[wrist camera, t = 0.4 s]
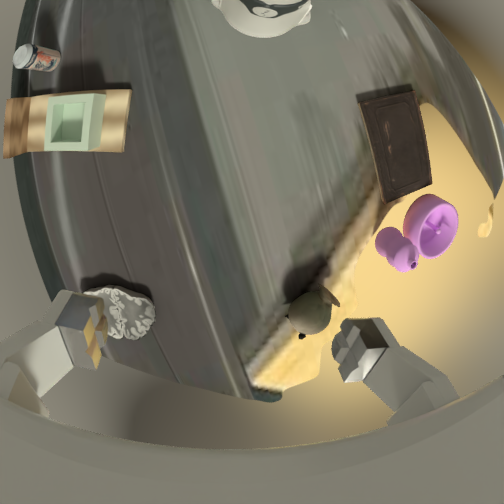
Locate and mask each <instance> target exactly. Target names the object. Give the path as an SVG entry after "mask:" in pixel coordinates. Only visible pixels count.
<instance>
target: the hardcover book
mask: <svg viewBox="0 0 504 504" xmlns="http://www.w3.org/2000/svg"><path fill="white" fill-rule="evenodd" d="M358 106H359V109H360V112H361V116H362V119H363V122H364V126H365V129H366V133H367V137H368V141H369V144H370V148H371V152H372V157H373V161H374V165H375V170H376V174H377V179H378V184H379V189H380V195H381V200H382V201H383V204H386V203H388V202H391V201H393V200H396V199H398V198H400V197H403V196H405V195H407V194H410V193H412V192H414V191H417V190H419V189H421V188H424V187H426V186H428V185H431V184H432V176H431V168H430V160H429V153H428V147H427V141H426V135H425V130H424V125H423V120H422V116H421V111H420V107H419V103H418V99H417V95H416V92H415V90H411V91H409V92H404V93H399V94H394V95H389V96H384V97H380V98H375V99H371V100H367V101H363V102H359V103H358Z"/></svg>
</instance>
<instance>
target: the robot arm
mask: <svg viewBox="0 0 504 504" xmlns="http://www.w3.org/2000/svg"><path fill="white" fill-rule="evenodd" d="M211 3H212V4H213V5H214V6H215V7H217V8H218V9H219V10H221V11H222V13H223V15H224V17H225V18H226V20H227V21H228V23H229V24H230V25H231V26H232V27H234V28H235V29H236V30H238V31H240V32H242V33H244V34H246V35H249V36H253V37H260V38H268V37H275V36H279V35H281V34H284V33H286V32H287V31H289V30H290V29H292V28H293V27H295V26H298V25H303V24H307V23H308V22H309V21H310V9H311V8H312V5H311V4H310V3H311V1H310V0H211ZM104 309H105V305H104V300H103V298H101V297H97V296H92V295H87V294H83V293H78V292H72V291H67V290H61V291H60V292H59V293H58V294H57V296H56V297H55V299H54V301H53V302H52V304H51V305H50V307H49V309H48V310H47V312H46V314H45V315H44V317H43V318H42V320H41V321H35V322H33V323H32V324H30V325H28V326H26V327H25V328H23V329H21V330H20V331H18V332H16V333H15V334H13V335H11V336H9V337H8V338H6V339H4V340H3V341H1V342H0V504H504V375H501V376H499V377H498V378H496V379H494V380H493V381H491V382H489V383H487V384H486V385H484V386H482V387H480V388H479V389H477V390H475V391H473V392H471V393H469V394H467V395H465V396H463V397H461V398H460V397H459V395H458V394H457V392H456V390H455V389H454V387H453V386H452V384H451V382H450V381H449V379H448V377H447V376H446V375H445V374H444V373H442V372H441V371H439V370H438V369H436V368H435V367H433V366H432V365H430V364H429V363H427V362H426V361H425V360H423V359H422V358H420V357H418V356H417V355H416V354H414V353H413V352H411V351H410V350H408V349H407V348H405V347H404V346H401V347H400V345H399V344H398V342H397V341H396V339H395V337H394V336H393V334H392V333H391V331H390V330H389V328H388V327H387V325H386V324H385V322H384V321H383V319H381V318H346V319H345V320H344V321H343V322H342V324H341V326H340V328H341V331H340V332H339V333H338V334H336V335H335V337H334V339H333V342H332V348H331V349H332V355H333V357H334V360H336V361H337V362H338V363H339V364H340V365H339V368H338V370H339V372H340V374H341V377H342V379H343V381H344V383H346V382H357V381H363V383H365V384H366V385H367V386H368V387H369V388H370V389H371V390H372V391H373V392H374V393H375V394H376V395H377V396H378V397H379V398H381V400H382V401H383V402H384V403H386V404H387V405H388V406H389V407H390V408H391V409H392V410H393V411H394V413H393V414H392V415H391V416H390V417H389V418H388V420H387V424H388V426H387V427H383V428H380V429H376V430H373V431H369V432H365V433H361V434H358V435H353V436H348V437H344V438H339V439H334V440H329V441H323V442H317V443H311V444H303V445H296V446H287V447H276V448H263V449H236V450H235V449H234V450H224V449H221V450H220V449H196V448H182V447H172V446H163V445H155V444H148V443H142V442H136V441H130V440H125V439H120V438H115V437H111V436H106V435H103V434H98V433H95V432H91V431H87V430H83V429H80V428H77V427H74V426H70V425H67V424H64V423H61V422H59V421H55V420H53V419H50V418H48V417H49V414H50V413H49V410H48V408H47V407H46V406H45V404H44V403H43V402H42V400H41V399H40V398H41V397H42V396H43V395H44V394H45V393H46V392H47V391H48V390H49V389H50V388H51V387H52V386H54V384H56V383H57V382H58V381H59V380H60V379H61V378H62V377H63V376H64V375H66V374H67V372H69V371H70V370H71V369H72V368H73V367H74V366H78V367H82V368H86V369H91V370H97V367H98V364H99V361H100V358H101V352H100V348H101V347H103V346H104V345H105V343H106V340H107V335H108V321H107V317H106V316H105V315H104V314H103V311H104Z"/></svg>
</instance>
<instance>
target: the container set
mask: <svg viewBox="0 0 504 504" xmlns="http://www.w3.org/2000/svg"><path fill="white" fill-rule="evenodd" d="M457 228H458V214H457V211H456V209H455V207H454V206H453V205H452V204H450V203H448V202H446V201H445V200H442V199H441V198H439V197H437V196H435V195H433V194H425V195H422V196H420V197H419V198H417V199H416V200H415V201H414V202H413V203H412V205H411V206H410V207H409V209H408V211H407V213H406V215H405V219H404V224H403V234H404V237H403V236H402V234H401V233H400V231H399V230H398V229H396V228H394V227H387V228H384V229H382V230H381V231H380V232H379V233H378V234H377V237H376V240H375V247H376V249H377V251H378V253H379V254H380V255H382V256H383V257H386V258H387V260H388V262H389V264H390V265H392V266H393V267H395V268H396V269H397V270H398V271H400V272H407V271H409V270H413V269H415V268H416V267H417V265H418V262H417V261H418V258H419V254H421V255H422V256H423V257H424V258H427V259H433V258H436V257H438V256H440V255H441V254H443V253H444V252H445V251H446V250H447V249H448V247H449V246H450V245H451V243H452V242H453V240H454V238H455V235H456V232H457Z"/></svg>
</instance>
